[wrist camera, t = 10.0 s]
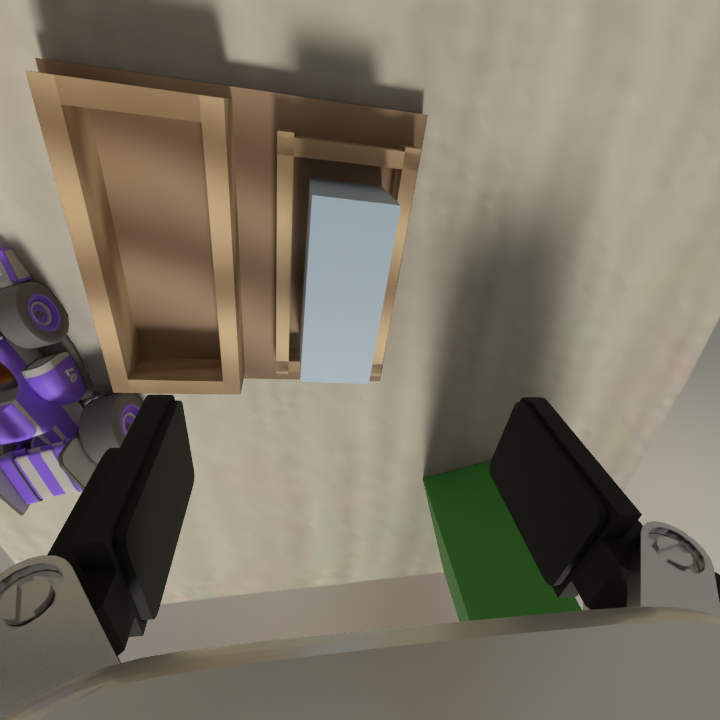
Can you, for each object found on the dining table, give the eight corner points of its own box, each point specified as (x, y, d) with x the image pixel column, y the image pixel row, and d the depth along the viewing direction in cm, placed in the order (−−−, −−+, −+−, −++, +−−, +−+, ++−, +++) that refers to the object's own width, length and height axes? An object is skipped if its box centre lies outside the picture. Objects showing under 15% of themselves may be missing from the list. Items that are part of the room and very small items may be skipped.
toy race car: (37, 237, 22) (-46, 280, 17) (162, 425, 31) (133, 494, 25) (-126, 276, 22) (-262, 331, 17) (44, 453, 31) (-11, 528, 25)
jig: (47, 60, 18) (-2, 51, 15) (422, 114, 21) (442, 116, 18) (123, 367, 27) (101, 398, 24) (377, 373, 30) (386, 402, 27)
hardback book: (502, 554, 47) (650, 880, 27) (443, 569, 48) (547, 904, 28) (497, 459, 38) (721, 860, 18) (422, 478, 38) (561, 898, 18)
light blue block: (309, 177, 21) (312, 195, 17) (381, 186, 22) (401, 205, 18) (299, 338, 26) (300, 381, 22) (358, 341, 27) (368, 383, 23)
